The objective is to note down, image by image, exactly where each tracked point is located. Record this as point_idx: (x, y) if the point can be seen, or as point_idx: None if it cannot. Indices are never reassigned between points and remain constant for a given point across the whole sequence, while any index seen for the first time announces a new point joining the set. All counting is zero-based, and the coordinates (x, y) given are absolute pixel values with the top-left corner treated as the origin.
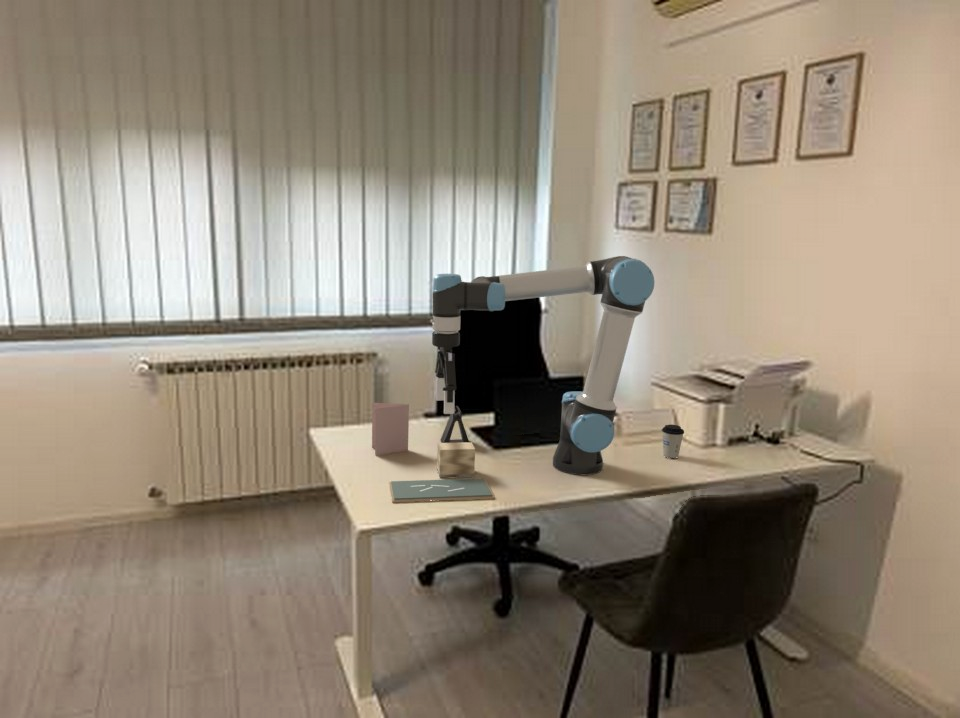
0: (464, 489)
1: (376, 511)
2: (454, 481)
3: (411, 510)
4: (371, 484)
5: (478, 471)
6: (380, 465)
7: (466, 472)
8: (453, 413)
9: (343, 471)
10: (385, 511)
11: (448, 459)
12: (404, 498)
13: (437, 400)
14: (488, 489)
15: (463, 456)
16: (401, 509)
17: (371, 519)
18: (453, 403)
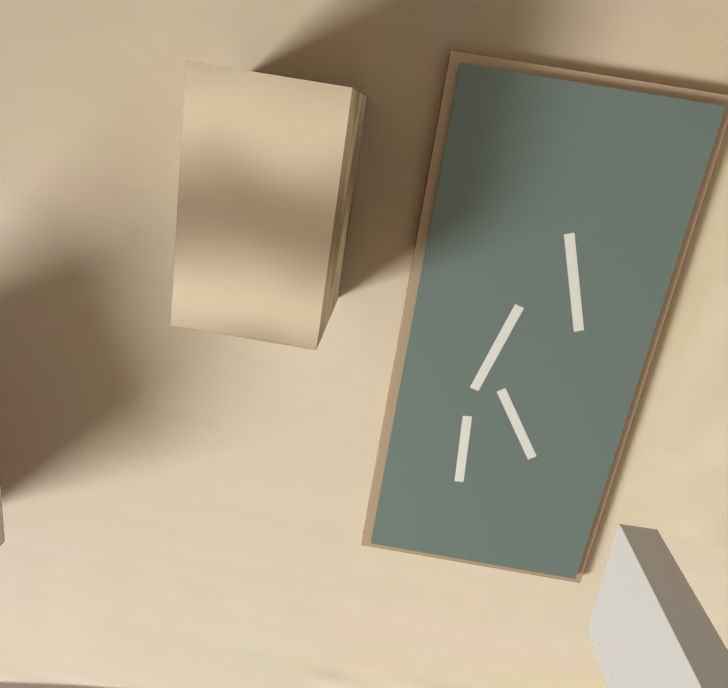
0: (590, 238)
1: None
2: (458, 255)
3: (688, 527)
4: (346, 602)
5: (286, 36)
6: (116, 518)
7: (358, 147)
8: (656, 540)
9: (172, 666)
10: None
11: (332, 276)
12: (587, 539)
13: (1, 530)
14: (640, 97)
15: (345, 177)
16: None
17: None
18: (717, 650)
